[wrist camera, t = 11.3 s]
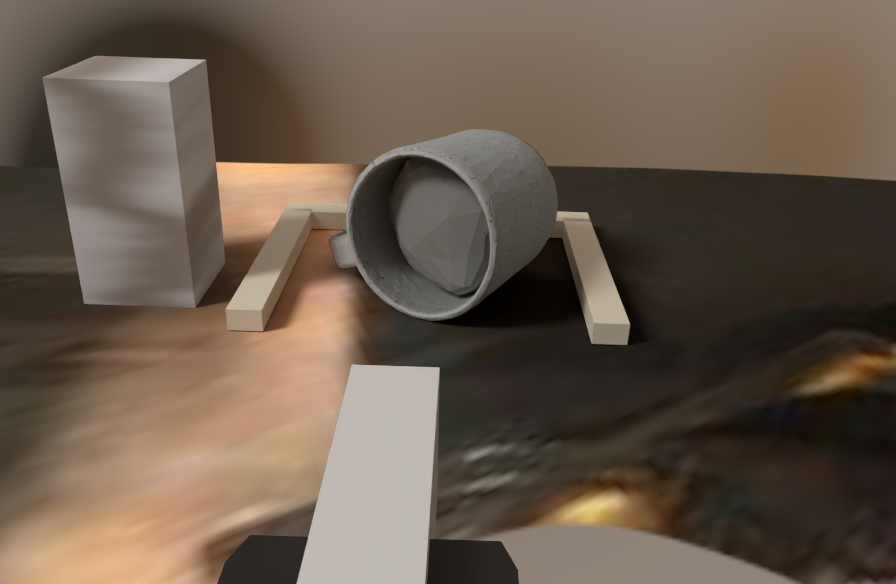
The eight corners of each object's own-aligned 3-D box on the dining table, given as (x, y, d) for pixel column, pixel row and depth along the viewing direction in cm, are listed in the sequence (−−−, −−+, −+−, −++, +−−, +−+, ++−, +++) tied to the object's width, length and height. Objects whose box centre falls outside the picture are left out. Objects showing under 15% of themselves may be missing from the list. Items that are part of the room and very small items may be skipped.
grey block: (225, 263, 41) (205, 59, 36) (195, 308, 36) (168, 82, 32) (126, 259, 41) (95, 56, 36) (84, 303, 36) (42, 77, 32)
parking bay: (585, 229, 46) (587, 212, 46) (627, 344, 34) (630, 324, 34) (290, 218, 46) (289, 201, 46) (227, 330, 34) (225, 309, 34)
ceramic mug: (562, 273, 41) (574, 122, 37) (491, 341, 34) (499, 165, 31) (384, 234, 45) (382, 97, 42) (292, 287, 39) (281, 129, 35)
